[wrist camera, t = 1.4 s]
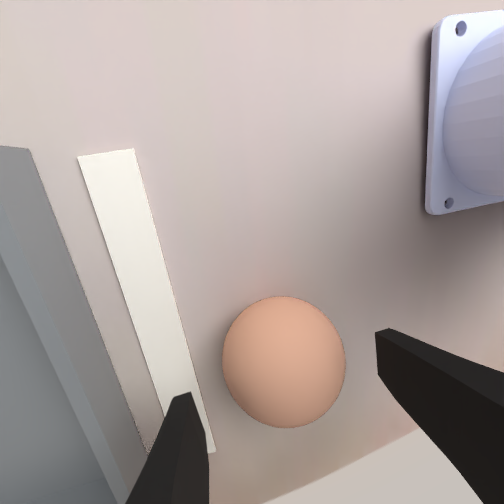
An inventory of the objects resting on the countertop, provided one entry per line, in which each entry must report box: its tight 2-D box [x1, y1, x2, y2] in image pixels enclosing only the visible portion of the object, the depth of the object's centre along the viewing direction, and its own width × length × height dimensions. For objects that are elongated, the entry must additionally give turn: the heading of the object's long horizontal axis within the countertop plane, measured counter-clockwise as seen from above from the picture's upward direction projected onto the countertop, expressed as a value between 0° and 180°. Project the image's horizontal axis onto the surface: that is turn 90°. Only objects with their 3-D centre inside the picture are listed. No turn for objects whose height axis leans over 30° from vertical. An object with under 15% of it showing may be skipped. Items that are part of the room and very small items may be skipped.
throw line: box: [77, 148, 216, 454], centre depth 13 cm, size 2×16×1 cm, turn 9°
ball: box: [222, 296, 346, 428], centre depth 12 cm, size 5×5×5 cm
